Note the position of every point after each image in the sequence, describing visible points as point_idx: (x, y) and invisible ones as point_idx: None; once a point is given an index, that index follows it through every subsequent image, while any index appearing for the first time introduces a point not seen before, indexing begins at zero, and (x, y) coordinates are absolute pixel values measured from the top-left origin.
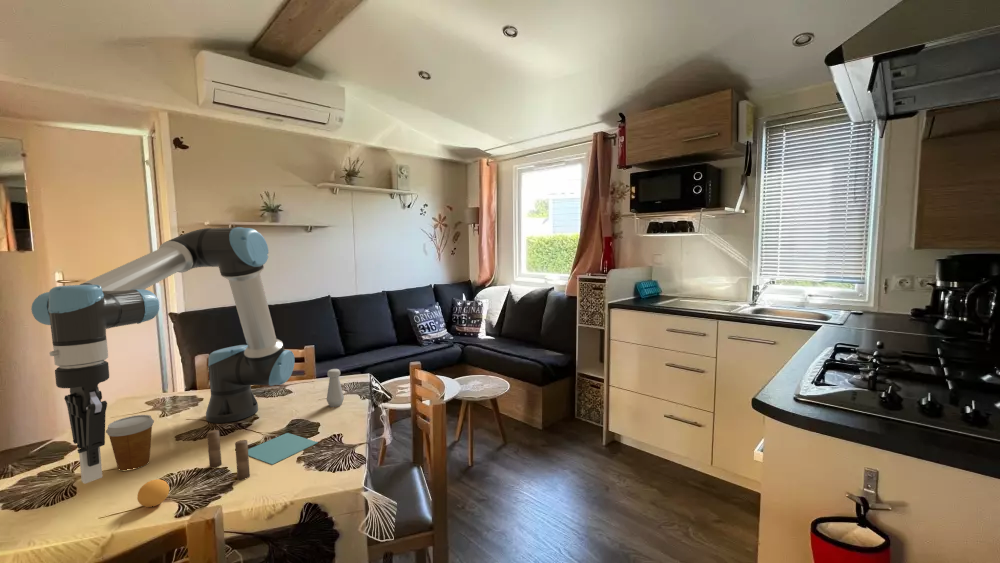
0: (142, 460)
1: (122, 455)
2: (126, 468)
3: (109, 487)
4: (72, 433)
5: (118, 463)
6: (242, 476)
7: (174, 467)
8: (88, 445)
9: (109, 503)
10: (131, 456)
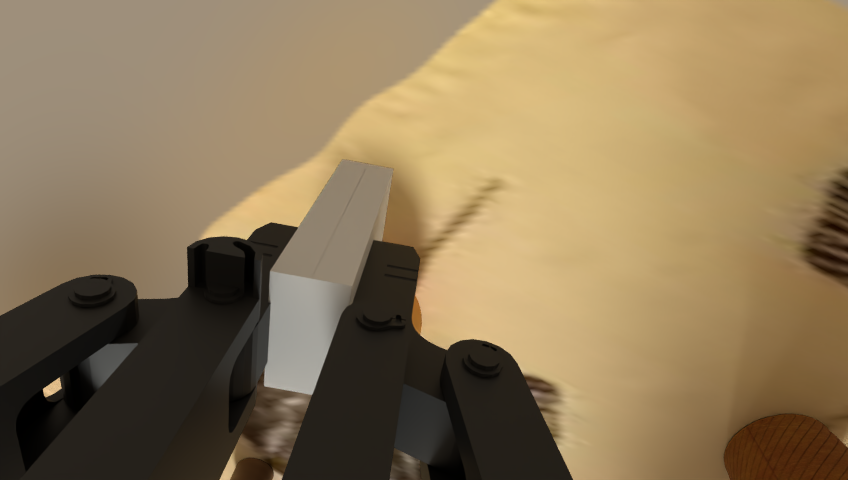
0: (734, 473)
1: (807, 472)
2: (766, 426)
3: (705, 327)
4: (536, 438)
5: (816, 438)
6: (235, 470)
7: (580, 469)
8: (31, 305)
9: (572, 255)
10: (769, 477)
